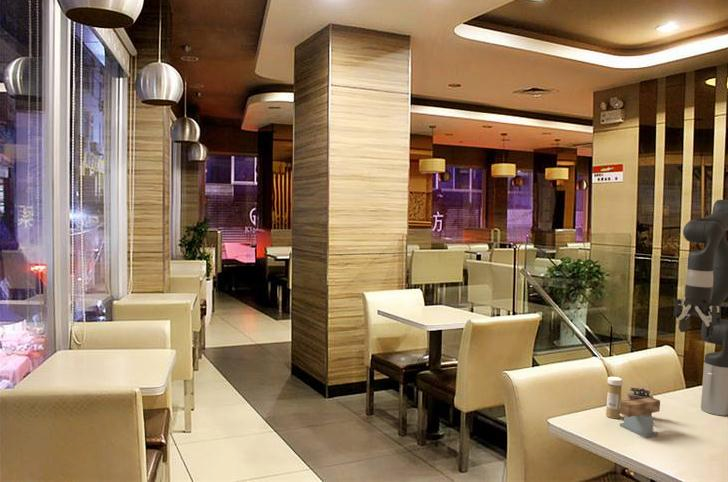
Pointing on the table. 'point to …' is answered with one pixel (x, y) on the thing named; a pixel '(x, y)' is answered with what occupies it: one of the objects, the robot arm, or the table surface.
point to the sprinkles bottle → (614, 397)
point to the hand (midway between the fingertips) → (695, 334)
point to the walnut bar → (639, 407)
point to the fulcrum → (640, 425)
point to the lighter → (639, 394)
